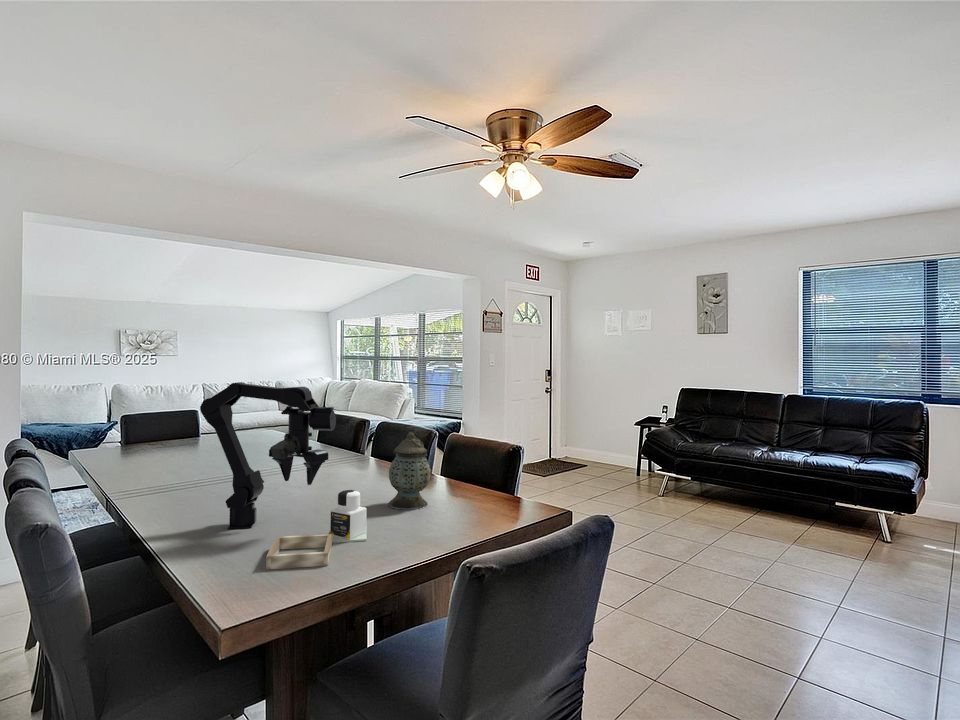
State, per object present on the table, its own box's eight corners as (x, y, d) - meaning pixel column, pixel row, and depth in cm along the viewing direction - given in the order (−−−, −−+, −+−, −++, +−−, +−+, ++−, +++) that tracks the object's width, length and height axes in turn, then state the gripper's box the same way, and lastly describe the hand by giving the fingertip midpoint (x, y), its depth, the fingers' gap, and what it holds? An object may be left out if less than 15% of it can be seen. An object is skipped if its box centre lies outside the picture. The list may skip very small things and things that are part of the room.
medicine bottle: (329, 535, 147) (330, 492, 147) (347, 528, 154) (348, 487, 154) (349, 540, 144) (350, 495, 144) (366, 532, 150) (367, 490, 150)
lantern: (409, 497, 191) (410, 427, 191) (438, 504, 182) (439, 431, 182) (379, 505, 180) (380, 431, 180) (408, 513, 171) (409, 436, 171)
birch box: (266, 569, 125) (266, 556, 125) (276, 548, 138) (276, 536, 138) (327, 565, 128) (328, 553, 128) (331, 545, 141) (332, 534, 141)
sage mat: (328, 542, 143) (328, 541, 143) (331, 530, 153) (331, 529, 153) (366, 540, 145) (366, 539, 145) (366, 529, 155) (366, 527, 155)
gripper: (253, 430, 153) (252, 484, 153) (300, 435, 144) (299, 493, 144) (284, 426, 163) (283, 477, 163) (330, 431, 154) (329, 484, 154)
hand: (297, 482), depth 156 cm, fingers open, 9 cm apart
